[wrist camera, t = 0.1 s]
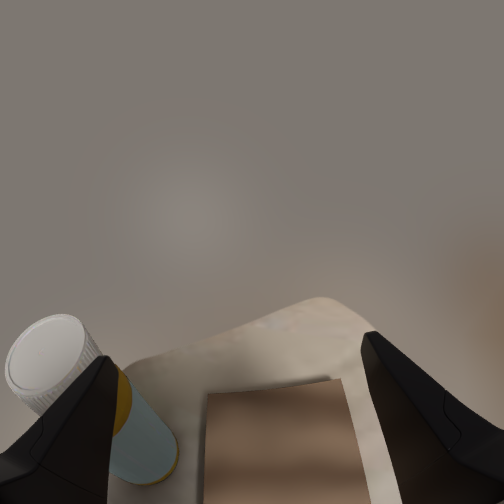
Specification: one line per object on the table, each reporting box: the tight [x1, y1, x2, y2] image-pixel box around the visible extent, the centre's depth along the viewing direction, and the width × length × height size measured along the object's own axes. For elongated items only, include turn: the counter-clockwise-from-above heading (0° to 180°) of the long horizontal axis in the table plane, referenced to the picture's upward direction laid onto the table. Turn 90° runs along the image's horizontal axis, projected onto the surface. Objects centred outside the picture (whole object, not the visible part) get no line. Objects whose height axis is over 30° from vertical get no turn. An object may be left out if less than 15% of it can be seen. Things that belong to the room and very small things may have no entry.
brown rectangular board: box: [203, 378, 371, 504], centre depth 16 cm, size 18×12×2 cm, turn 2°
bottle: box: [5, 314, 179, 485], centre depth 15 cm, size 7×7×15 cm
